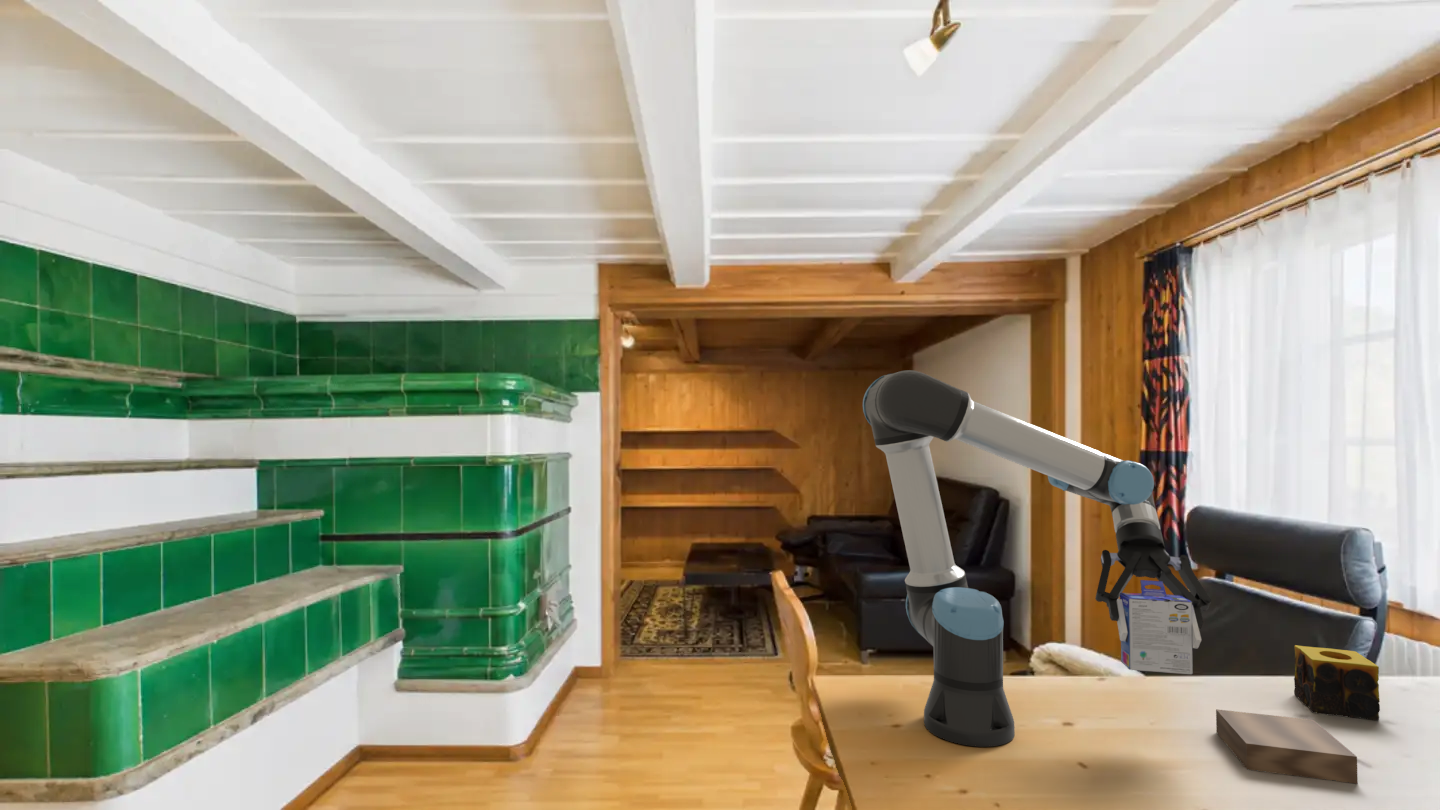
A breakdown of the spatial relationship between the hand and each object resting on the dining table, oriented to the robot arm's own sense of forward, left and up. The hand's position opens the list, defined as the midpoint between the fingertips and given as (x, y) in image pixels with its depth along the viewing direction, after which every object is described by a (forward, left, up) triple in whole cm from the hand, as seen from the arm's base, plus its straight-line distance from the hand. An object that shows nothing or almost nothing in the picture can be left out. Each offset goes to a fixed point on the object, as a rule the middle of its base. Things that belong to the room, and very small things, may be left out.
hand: (1159, 640), depth 119 cm
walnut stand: (+18, +3, -18) cm, 25 cm away
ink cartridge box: (0, +3, -6) cm, 6 cm away
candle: (+36, +30, -18) cm, 50 cm away
